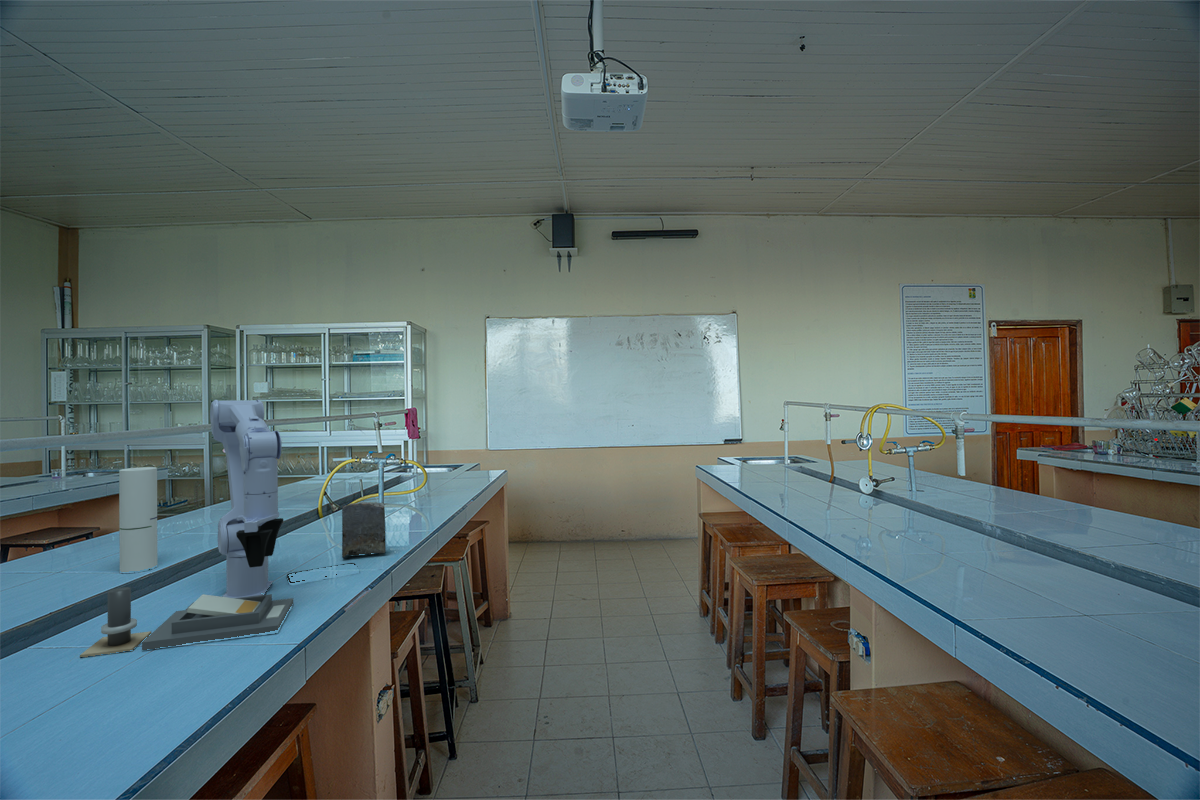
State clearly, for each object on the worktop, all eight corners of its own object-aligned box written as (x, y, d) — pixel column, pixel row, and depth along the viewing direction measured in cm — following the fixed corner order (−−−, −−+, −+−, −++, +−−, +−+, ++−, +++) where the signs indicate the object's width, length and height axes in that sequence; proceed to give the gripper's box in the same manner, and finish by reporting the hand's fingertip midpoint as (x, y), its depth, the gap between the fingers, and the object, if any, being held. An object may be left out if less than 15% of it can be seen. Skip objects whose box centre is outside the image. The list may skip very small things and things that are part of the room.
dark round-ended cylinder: (111, 638, 94) (111, 587, 94) (142, 635, 95) (142, 584, 95) (94, 650, 90) (94, 596, 90) (127, 646, 91) (127, 593, 91)
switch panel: (176, 618, 103) (176, 600, 103) (293, 605, 110) (293, 588, 110) (141, 651, 90) (141, 630, 90) (277, 633, 97) (277, 614, 97)
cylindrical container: (164, 564, 137) (164, 467, 137) (141, 573, 130) (141, 470, 129) (136, 564, 137) (135, 467, 136) (111, 574, 129) (111, 471, 129)
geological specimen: (385, 551, 149) (385, 497, 149) (385, 557, 143) (385, 501, 143) (342, 555, 145) (342, 500, 144) (341, 562, 139) (341, 504, 139)
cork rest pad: (102, 639, 94) (102, 637, 94) (151, 634, 97) (151, 631, 97) (79, 658, 88) (79, 655, 88) (132, 651, 90) (132, 648, 90)
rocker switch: (201, 598, 102) (202, 593, 102) (259, 605, 105) (261, 601, 105) (186, 612, 95) (188, 607, 95) (249, 619, 98) (251, 615, 98)
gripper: (248, 488, 112) (248, 553, 111) (225, 499, 98) (225, 574, 98) (286, 486, 114) (287, 550, 114) (269, 497, 100) (269, 569, 100)
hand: (261, 561), depth 106 cm, fingers open, 7 cm apart
